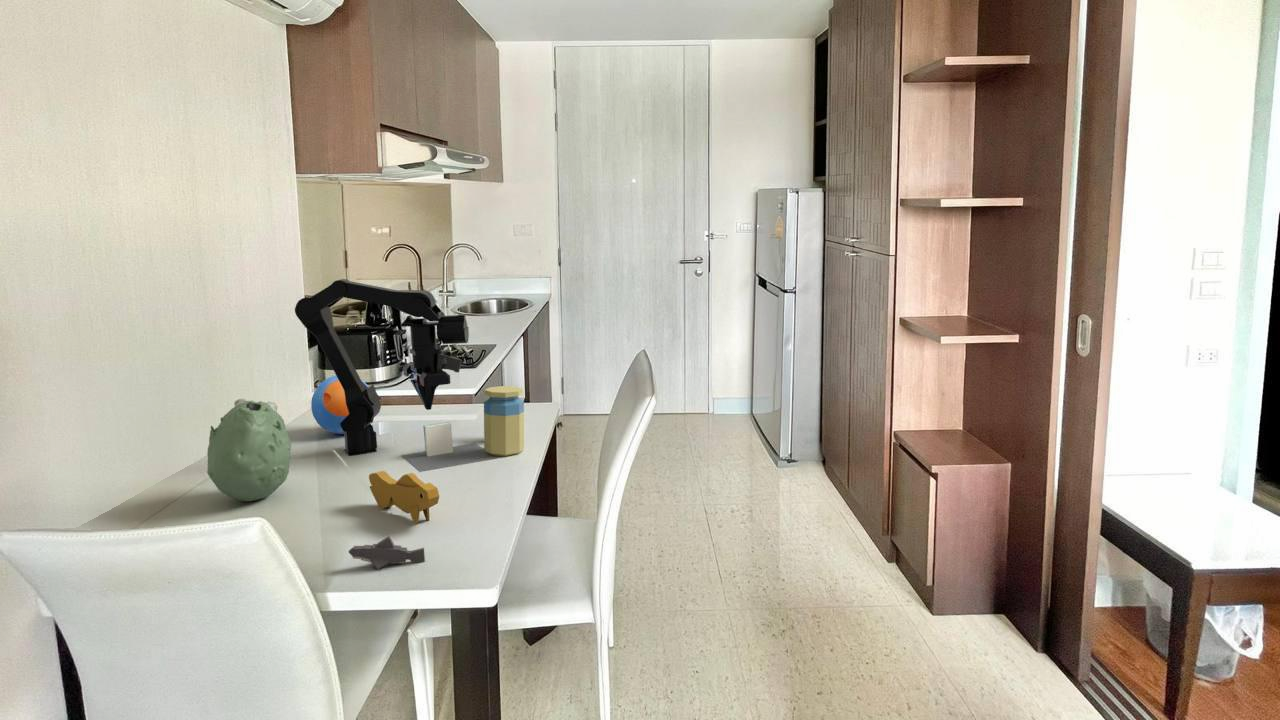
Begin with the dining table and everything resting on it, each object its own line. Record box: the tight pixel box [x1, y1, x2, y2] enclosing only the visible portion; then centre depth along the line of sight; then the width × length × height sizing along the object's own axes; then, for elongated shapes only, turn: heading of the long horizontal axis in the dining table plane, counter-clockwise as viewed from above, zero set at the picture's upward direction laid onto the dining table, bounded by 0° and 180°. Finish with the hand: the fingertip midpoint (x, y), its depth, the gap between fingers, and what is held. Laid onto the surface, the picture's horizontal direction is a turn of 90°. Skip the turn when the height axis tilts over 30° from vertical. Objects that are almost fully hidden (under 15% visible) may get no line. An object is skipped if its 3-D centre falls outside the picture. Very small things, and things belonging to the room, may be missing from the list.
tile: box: [423, 421, 454, 456], centre depth 205 cm, size 6×2×7 cm, turn 120°
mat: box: [400, 442, 498, 473], centre depth 203 cm, size 18×16×1 cm
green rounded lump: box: [206, 398, 292, 502], centre depth 177 cm, size 16×19×20 cm
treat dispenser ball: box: [310, 374, 369, 435], centre depth 229 cm, size 16×15×15 cm
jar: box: [483, 385, 525, 457], centre depth 204 cm, size 9×9×15 cm
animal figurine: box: [348, 534, 426, 571], centre depth 142 cm, size 12×4×5 cm, turn 100°
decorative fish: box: [368, 470, 440, 525], centre depth 165 cm, size 22×3×10 cm, turn 44°
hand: (428, 409), depth 209 cm, fingers closed
